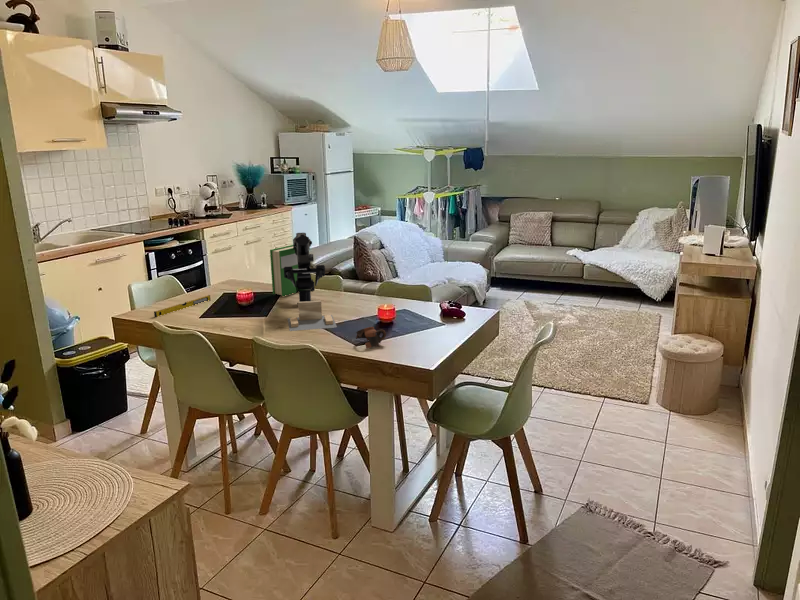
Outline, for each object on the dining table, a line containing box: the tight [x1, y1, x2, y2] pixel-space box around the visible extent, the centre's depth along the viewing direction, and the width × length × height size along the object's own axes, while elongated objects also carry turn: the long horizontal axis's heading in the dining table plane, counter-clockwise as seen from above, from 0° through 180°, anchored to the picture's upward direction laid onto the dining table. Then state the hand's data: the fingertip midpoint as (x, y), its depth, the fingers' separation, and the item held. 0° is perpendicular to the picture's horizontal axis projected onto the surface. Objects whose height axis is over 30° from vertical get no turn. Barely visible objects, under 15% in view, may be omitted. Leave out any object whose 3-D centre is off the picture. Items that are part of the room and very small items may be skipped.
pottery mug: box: [355, 326, 387, 349], centre depth 240 cm, size 12×10×8 cm
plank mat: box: [287, 314, 338, 332], centre depth 265 cm, size 19×20×3 cm
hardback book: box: [269, 244, 298, 297], centre depth 319 cm, size 18×7×24 cm, turn 147°
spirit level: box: [153, 294, 211, 318], centre depth 294 cm, size 33×1×3 cm, turn 151°
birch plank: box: [297, 300, 323, 321], centre depth 269 cm, size 2×10×8 cm, turn 103°
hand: (305, 286), depth 275 cm, fingers open, 9 cm apart
